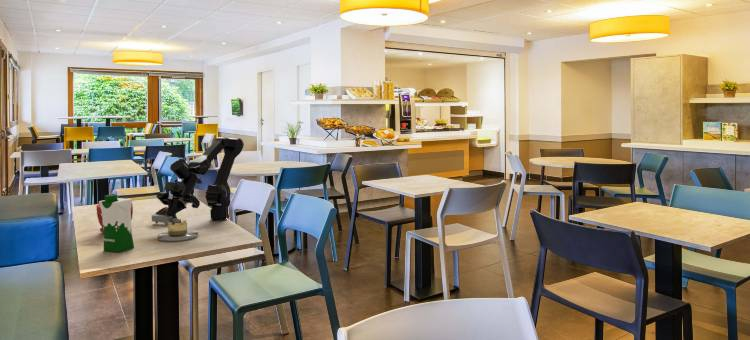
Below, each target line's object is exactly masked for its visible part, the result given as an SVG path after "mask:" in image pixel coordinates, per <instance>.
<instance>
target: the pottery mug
mask: <svg viewBox="0 0 750 340" xmlns="http://www.w3.org/2000/svg"><path fill="white" fill-rule="evenodd" d="M167 210H168V206H165V207H162V208H161V209H159V210H157V211H156V212H155V213H154V214H153V215H155V214H156V215H165V216H166V215H167ZM172 218H176V219H178V215H177V213H176V214H175V215H173V216H172ZM153 222H154V223H156V224H158V223H159V222H155V221H153Z"/></svg>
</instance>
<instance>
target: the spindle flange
mask: <svg viewBox="0 0 750 340" xmlns="http://www.w3.org/2000/svg"><path fill="white" fill-rule="evenodd" d="M173 222H174V224H175V223H178V222H180V223H181V222H182V219H180V218H177V219H176V220H173ZM198 237H199V232H198V231H196V230H191V229H187V234H184V235H176V236H173V235H168V231H165V232H161V233H158V235H157V237H156V238H157V241H159V242H164V243H178V242H186V241H191V240H194V239H197V238H198Z"/></svg>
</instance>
